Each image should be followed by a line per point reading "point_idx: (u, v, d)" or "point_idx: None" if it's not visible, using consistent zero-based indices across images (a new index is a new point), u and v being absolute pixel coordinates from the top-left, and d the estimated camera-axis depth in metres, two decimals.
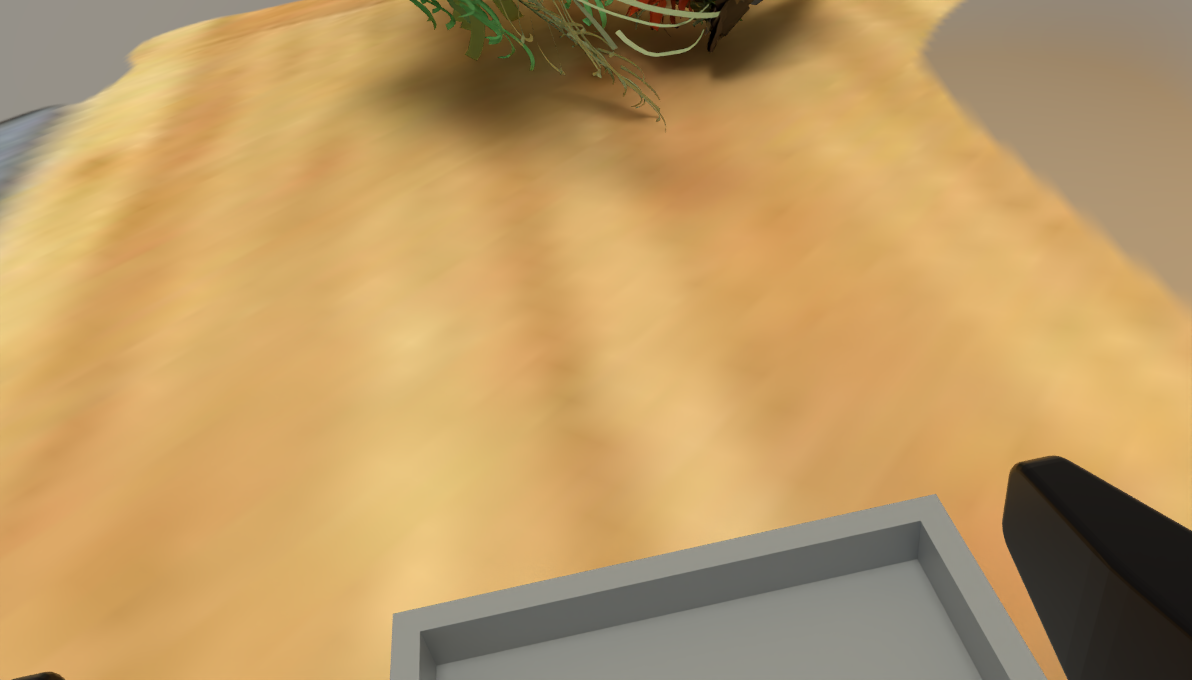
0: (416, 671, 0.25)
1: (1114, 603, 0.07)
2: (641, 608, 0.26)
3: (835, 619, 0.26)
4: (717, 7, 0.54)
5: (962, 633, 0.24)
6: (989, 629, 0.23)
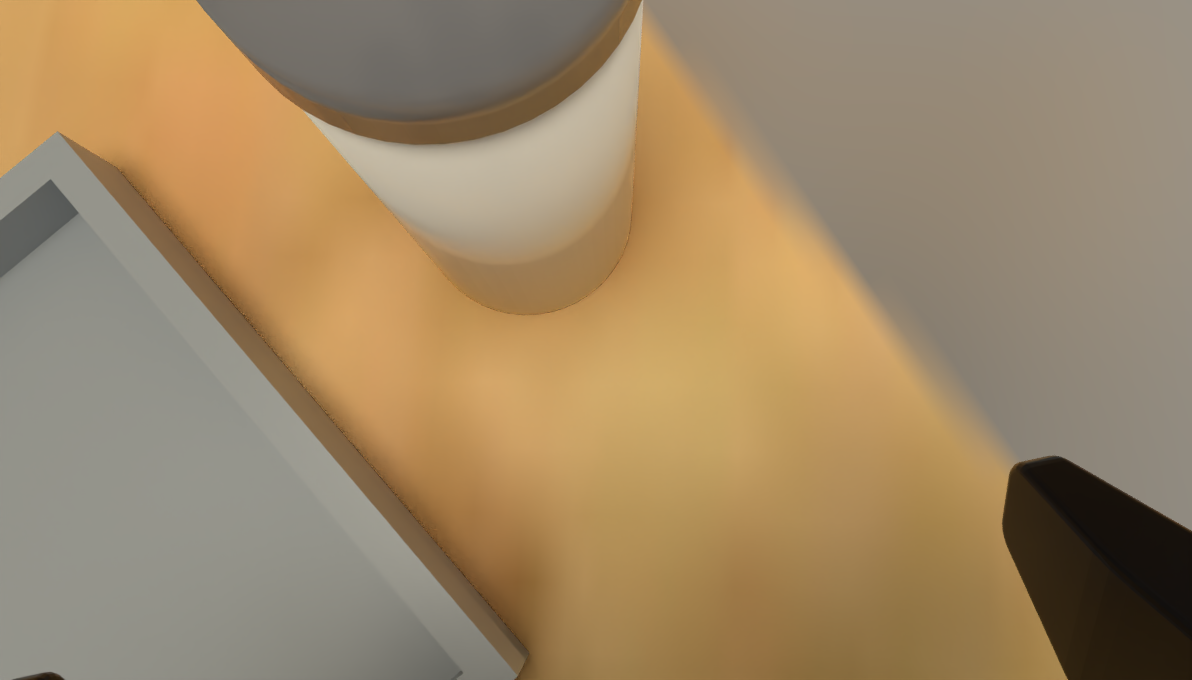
0: None
1: (1114, 603, 0.07)
2: None
3: (30, 322, 0.22)
4: None
5: None
6: (155, 292, 0.20)
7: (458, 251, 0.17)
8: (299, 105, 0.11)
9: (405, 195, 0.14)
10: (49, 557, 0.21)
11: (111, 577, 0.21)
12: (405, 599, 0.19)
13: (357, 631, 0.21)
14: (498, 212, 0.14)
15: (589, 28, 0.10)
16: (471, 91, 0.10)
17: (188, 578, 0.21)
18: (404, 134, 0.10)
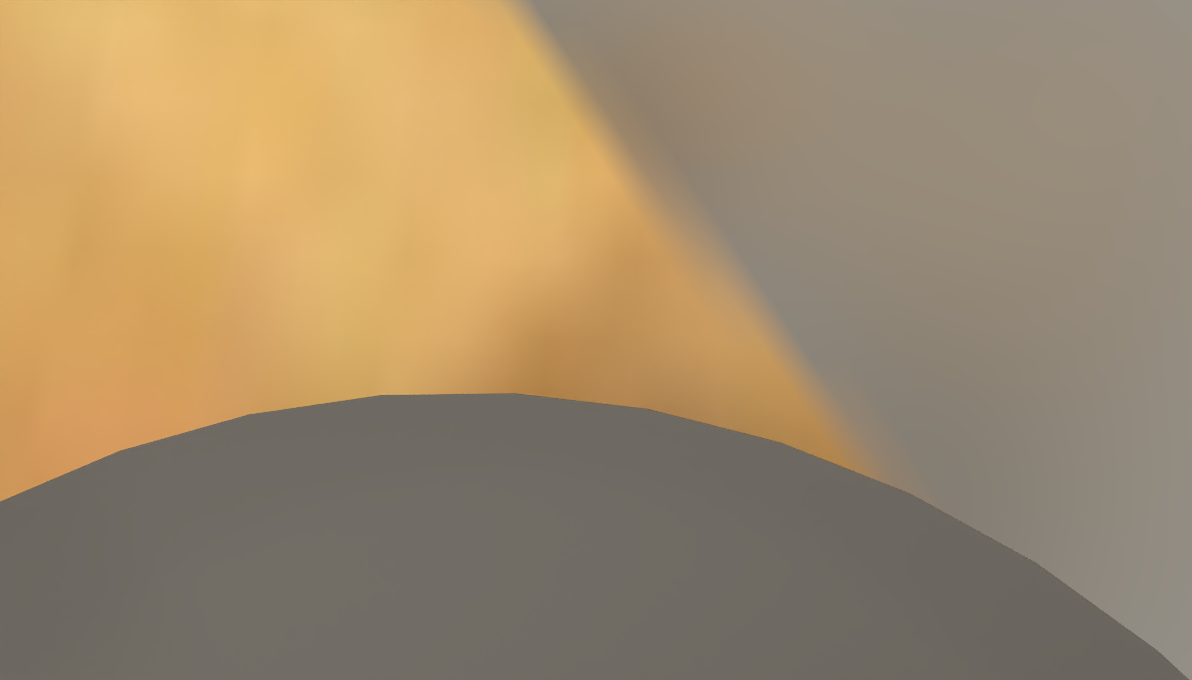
0: None
1: None
2: None
3: None
4: None
5: None
6: None
7: None
8: None
9: None
10: None
11: None
12: None
13: None
14: None
15: None
16: None
17: None
18: None
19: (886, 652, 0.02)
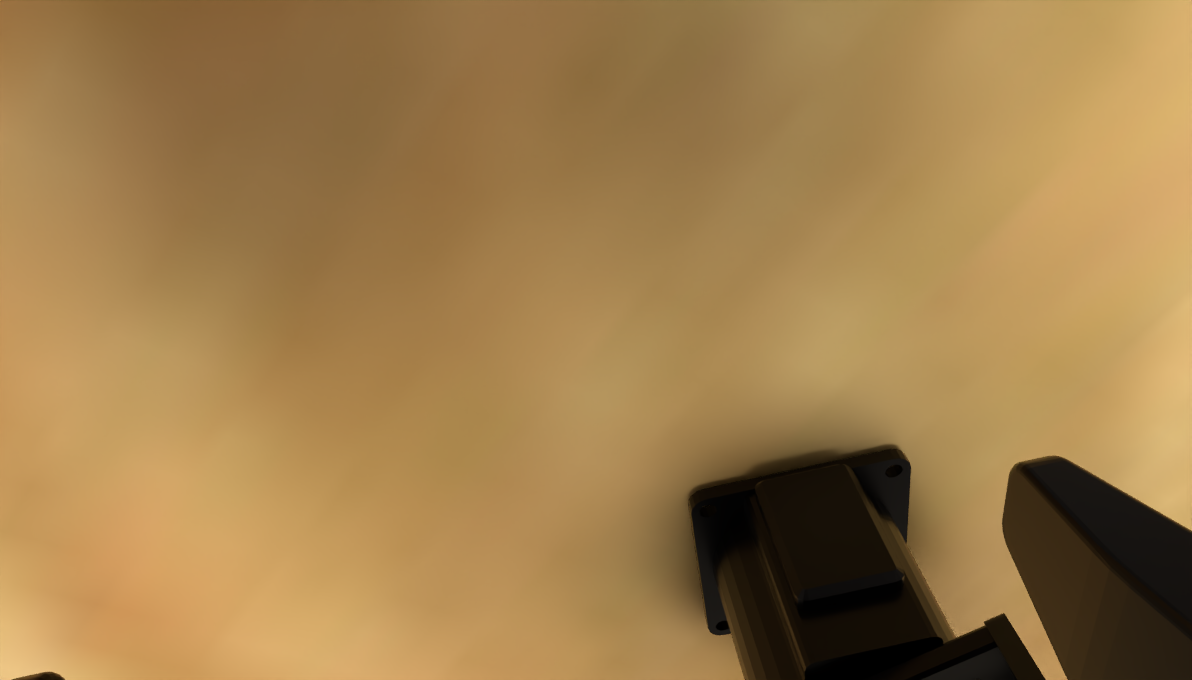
0: None
1: (1114, 603, 0.07)
2: None
3: None
4: None
5: None
6: None
7: None
8: None
9: None
10: None
11: None
12: None
13: None
14: None
15: None
16: None
17: None
18: None
19: None
